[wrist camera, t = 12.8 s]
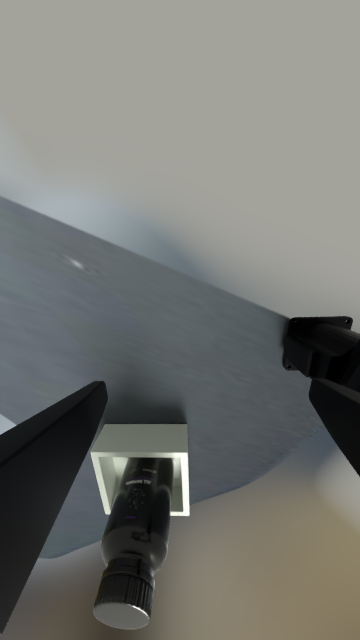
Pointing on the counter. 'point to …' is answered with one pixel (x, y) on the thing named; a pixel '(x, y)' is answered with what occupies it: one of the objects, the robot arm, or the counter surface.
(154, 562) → the supplement bottle
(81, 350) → the counter surface
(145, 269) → the counter surface
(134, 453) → the sage tray
